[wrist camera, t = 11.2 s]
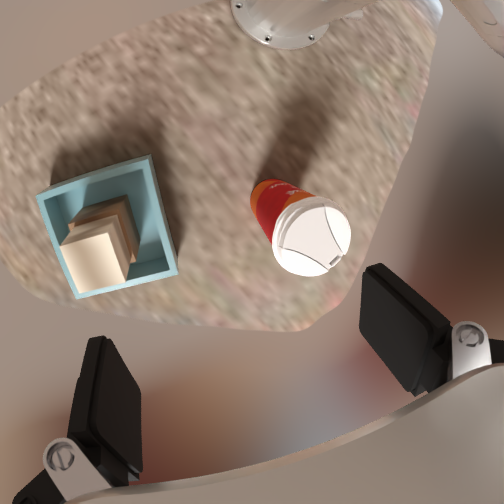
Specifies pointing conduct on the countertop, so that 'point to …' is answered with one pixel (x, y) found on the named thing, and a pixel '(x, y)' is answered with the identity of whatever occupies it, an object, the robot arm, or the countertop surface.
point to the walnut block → (110, 208)
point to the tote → (143, 207)
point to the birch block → (96, 254)
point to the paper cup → (301, 227)
